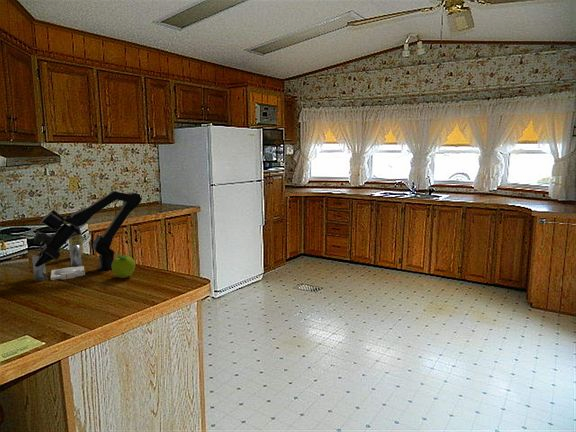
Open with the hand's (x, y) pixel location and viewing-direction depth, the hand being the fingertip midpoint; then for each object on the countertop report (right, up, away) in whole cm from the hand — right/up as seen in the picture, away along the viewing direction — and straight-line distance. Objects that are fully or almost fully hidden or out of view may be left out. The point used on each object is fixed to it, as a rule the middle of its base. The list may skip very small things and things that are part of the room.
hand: (35, 265), depth 171 cm
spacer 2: (+6, -3, +23) cm, 24 cm away
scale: (+9, -5, +8) cm, 14 cm away
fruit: (+37, -6, +3) cm, 37 cm away
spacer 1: (+1, -6, +2) cm, 7 cm away
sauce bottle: (-3, -1, +40) cm, 40 cm away
